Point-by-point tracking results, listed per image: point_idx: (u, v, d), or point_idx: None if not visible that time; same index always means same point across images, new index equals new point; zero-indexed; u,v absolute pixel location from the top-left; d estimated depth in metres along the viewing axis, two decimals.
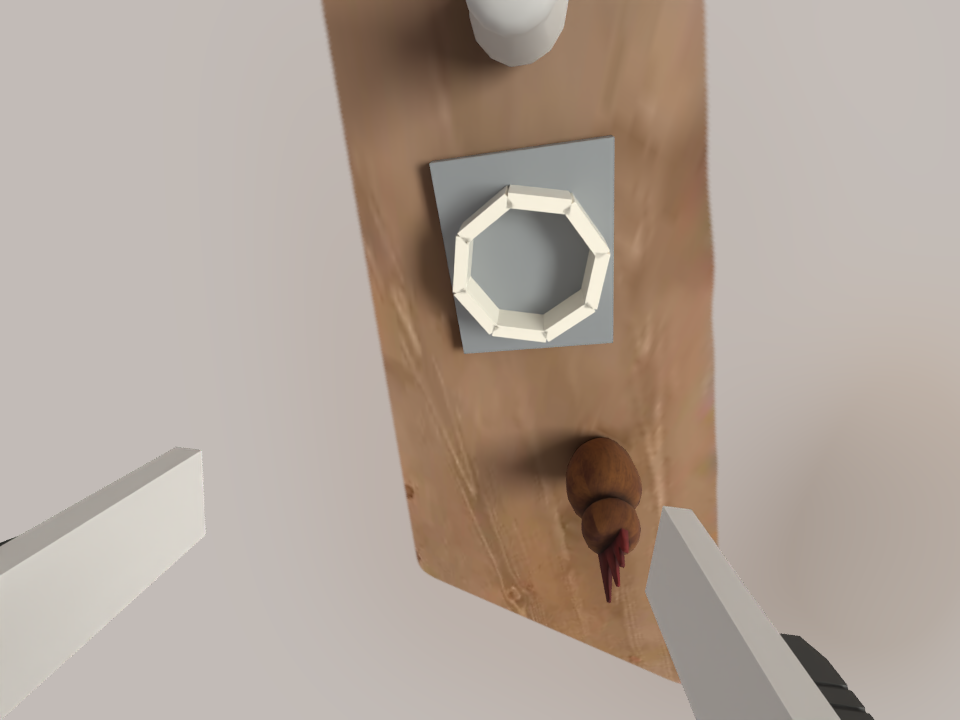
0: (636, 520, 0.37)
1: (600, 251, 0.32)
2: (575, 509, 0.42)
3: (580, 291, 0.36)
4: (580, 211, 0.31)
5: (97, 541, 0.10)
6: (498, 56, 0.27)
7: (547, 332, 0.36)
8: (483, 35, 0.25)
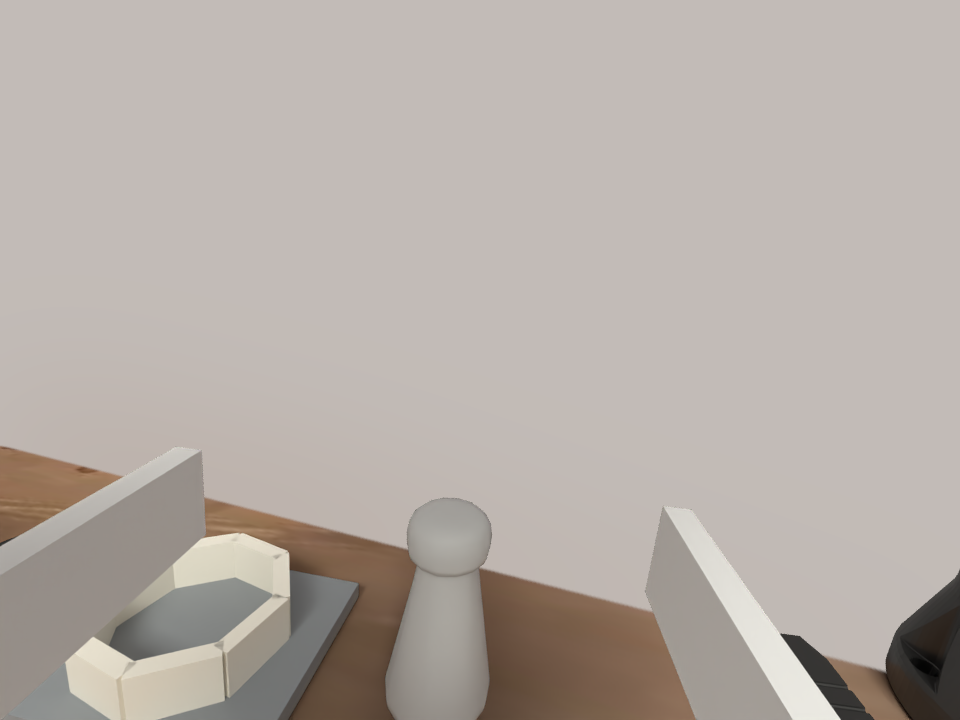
0: None
1: (133, 668, 0.23)
2: None
3: None
4: (205, 658, 0.24)
5: (97, 541, 0.10)
6: None
7: None
8: None
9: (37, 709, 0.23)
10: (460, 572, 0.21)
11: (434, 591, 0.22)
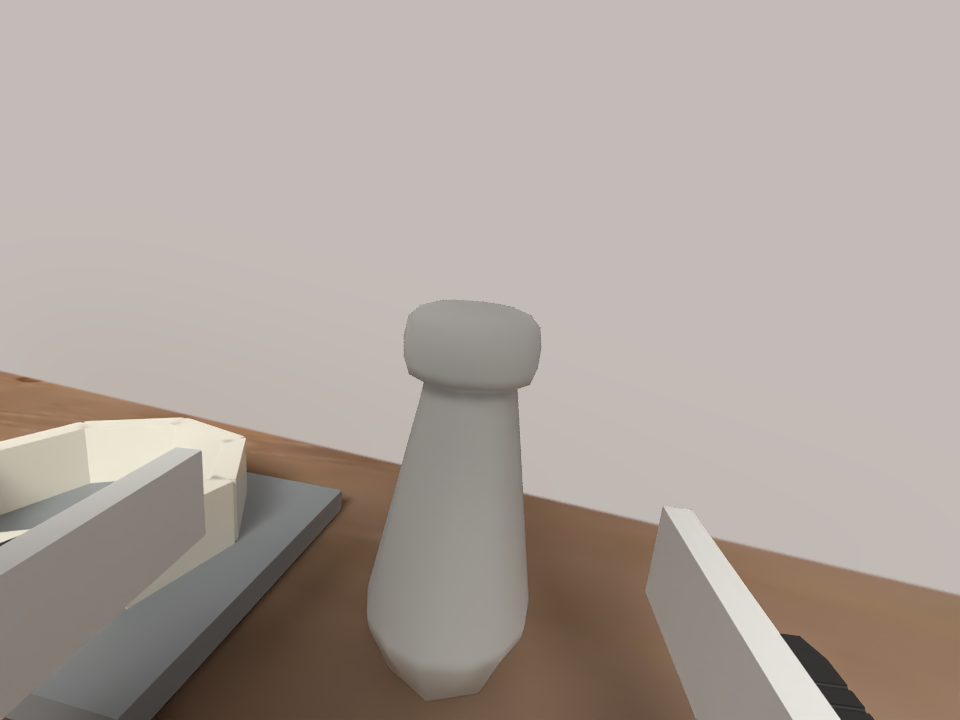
0: None
1: None
2: None
3: None
4: None
5: (96, 541, 0.10)
6: None
7: None
8: None
9: None
10: (491, 382, 0.13)
11: (447, 424, 0.13)
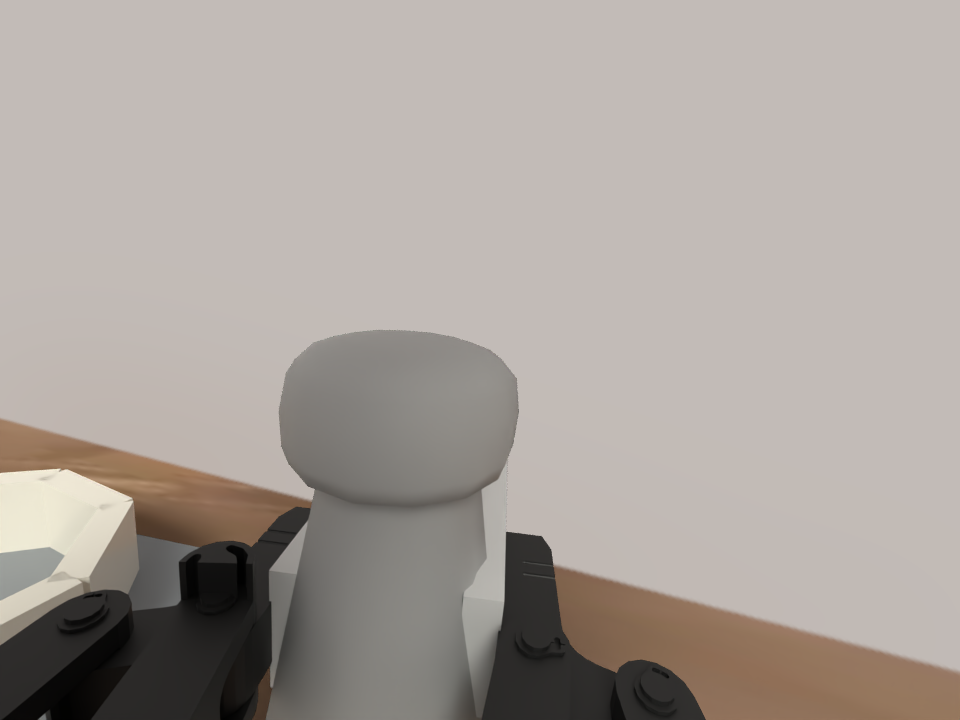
0: None
1: None
2: None
3: None
4: None
5: None
6: None
7: None
8: None
9: None
10: (423, 492, 0.07)
11: (351, 554, 0.08)
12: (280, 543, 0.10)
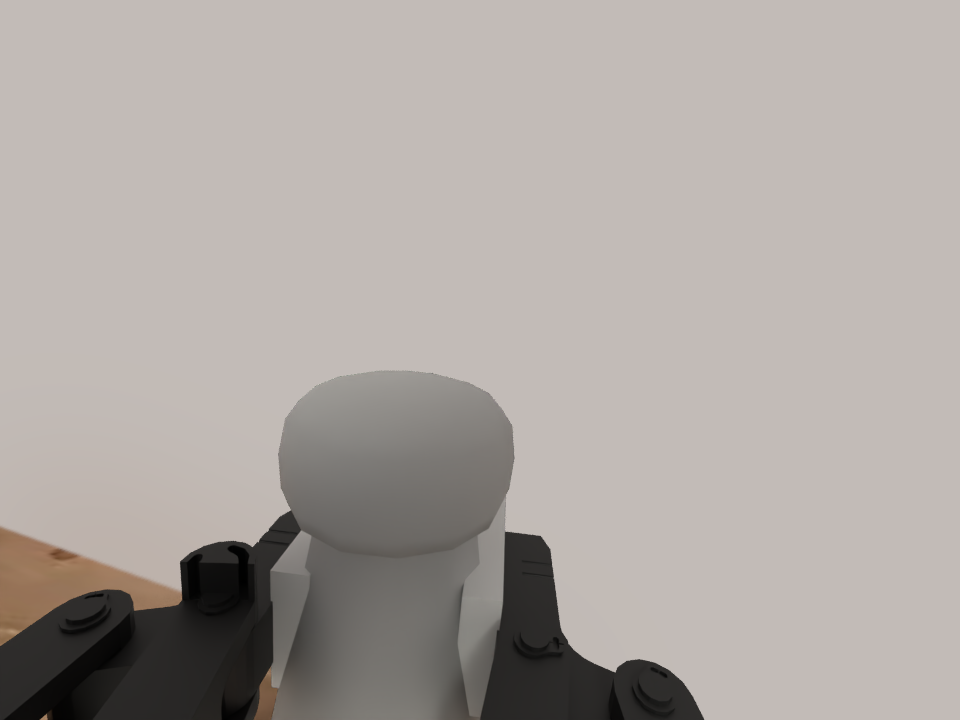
0: None
1: None
2: None
3: None
4: None
5: None
6: None
7: None
8: None
9: None
10: (407, 545, 0.07)
11: (342, 596, 0.08)
12: (281, 543, 0.10)
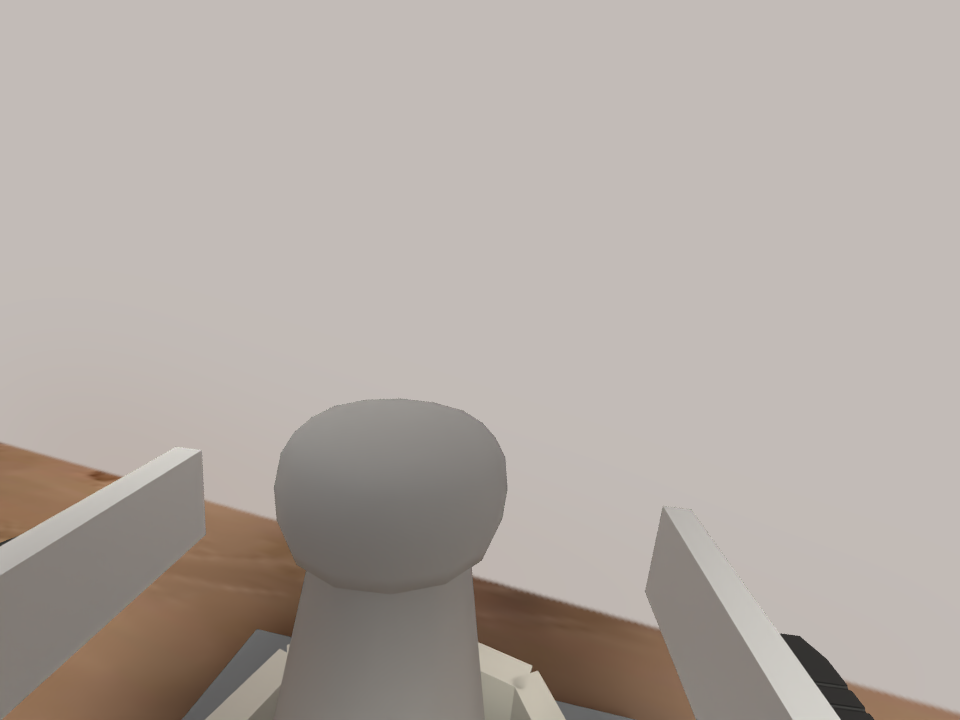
0: None
1: None
2: None
3: None
4: None
5: (97, 541, 0.10)
6: None
7: None
8: None
9: None
10: (400, 582, 0.07)
11: (337, 628, 0.08)
12: None
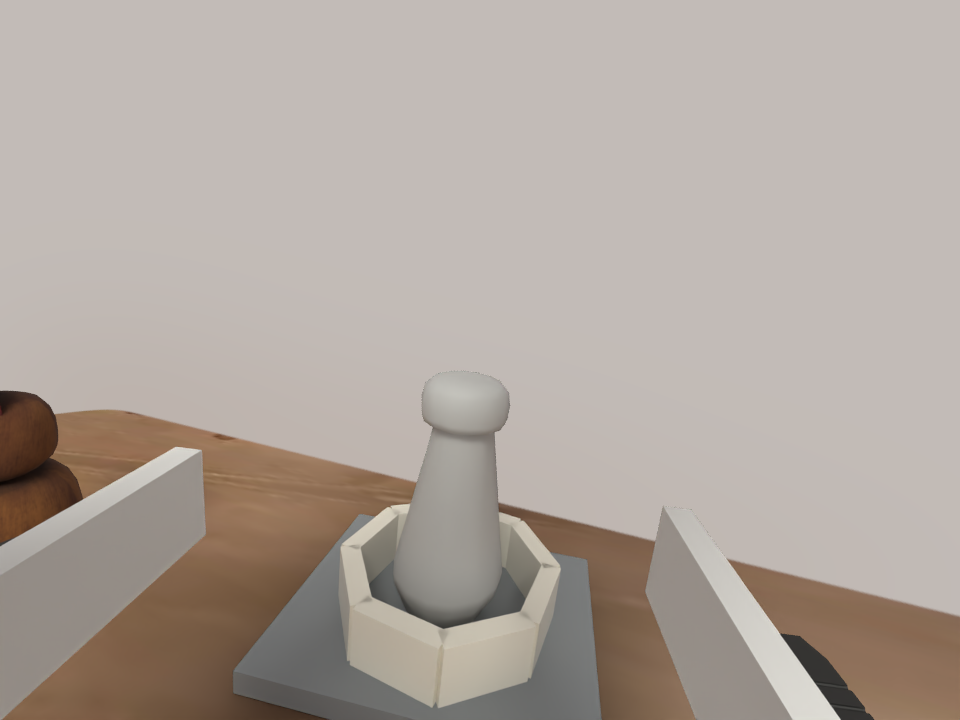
0: None
1: (448, 637, 0.19)
2: None
3: None
4: (519, 629, 0.20)
5: (97, 541, 0.10)
6: None
7: (355, 549, 0.24)
8: None
9: (325, 683, 0.20)
10: (472, 430, 0.20)
11: (446, 453, 0.21)
12: None
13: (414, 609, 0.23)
